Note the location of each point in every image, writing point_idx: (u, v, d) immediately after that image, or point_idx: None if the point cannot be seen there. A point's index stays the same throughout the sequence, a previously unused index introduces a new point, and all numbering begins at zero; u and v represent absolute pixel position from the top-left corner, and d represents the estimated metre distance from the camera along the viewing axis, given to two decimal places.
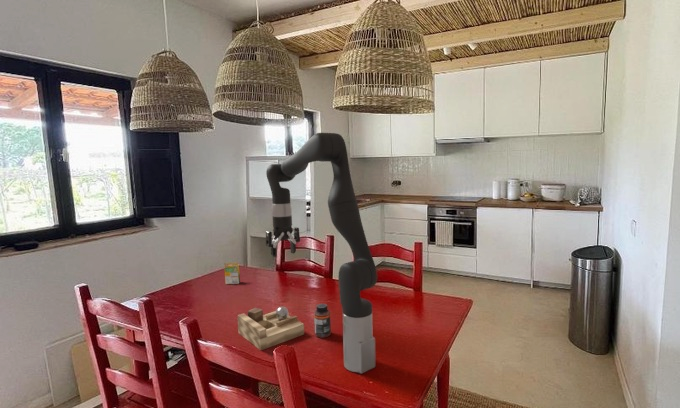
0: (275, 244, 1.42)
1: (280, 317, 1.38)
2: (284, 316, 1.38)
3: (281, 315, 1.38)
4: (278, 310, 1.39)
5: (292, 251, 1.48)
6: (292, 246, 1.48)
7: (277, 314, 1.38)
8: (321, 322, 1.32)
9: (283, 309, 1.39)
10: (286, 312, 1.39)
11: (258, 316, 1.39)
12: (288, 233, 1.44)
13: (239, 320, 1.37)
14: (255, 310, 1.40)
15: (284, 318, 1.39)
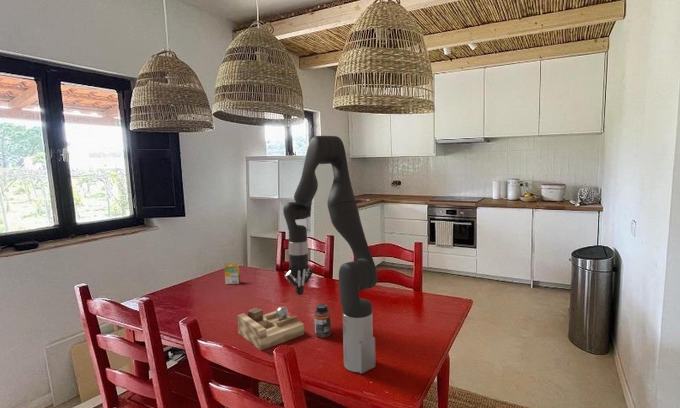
0: (299, 283, 1.43)
1: (280, 317, 1.38)
2: (284, 316, 1.38)
3: (281, 315, 1.38)
4: (278, 310, 1.39)
5: None
6: None
7: (277, 314, 1.38)
8: (321, 322, 1.32)
9: (283, 309, 1.39)
10: (286, 312, 1.39)
11: (258, 316, 1.39)
12: (304, 271, 1.43)
13: (239, 320, 1.37)
14: (255, 310, 1.40)
15: (284, 318, 1.39)
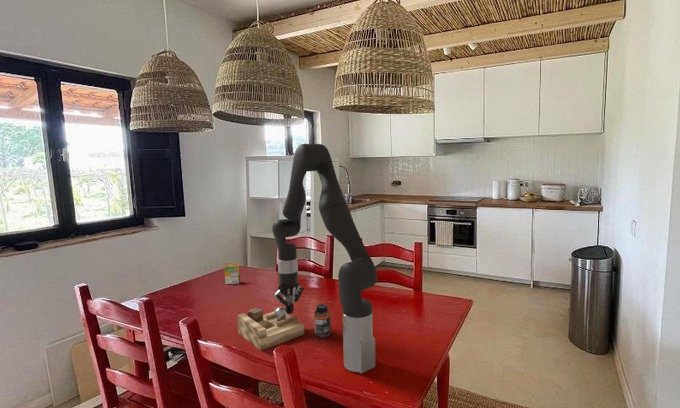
0: (288, 301, 1.41)
1: (279, 318, 1.38)
2: (283, 316, 1.38)
3: (279, 315, 1.37)
4: (276, 311, 1.38)
5: None
6: None
7: (275, 315, 1.38)
8: (321, 322, 1.32)
9: (281, 309, 1.39)
10: (284, 312, 1.39)
11: (258, 316, 1.39)
12: (294, 289, 1.41)
13: (239, 320, 1.37)
14: (255, 310, 1.40)
15: (283, 318, 1.38)
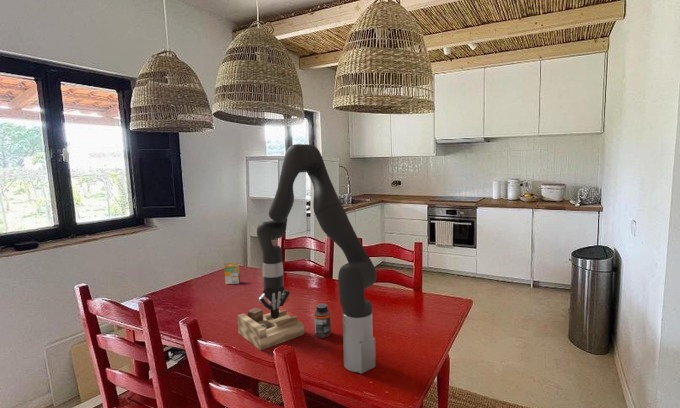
0: (273, 306, 1.37)
1: None
2: None
3: None
4: None
5: None
6: None
7: None
8: (321, 322, 1.32)
9: None
10: None
11: (258, 316, 1.39)
12: (279, 293, 1.37)
13: (239, 320, 1.37)
14: (255, 310, 1.40)
15: None
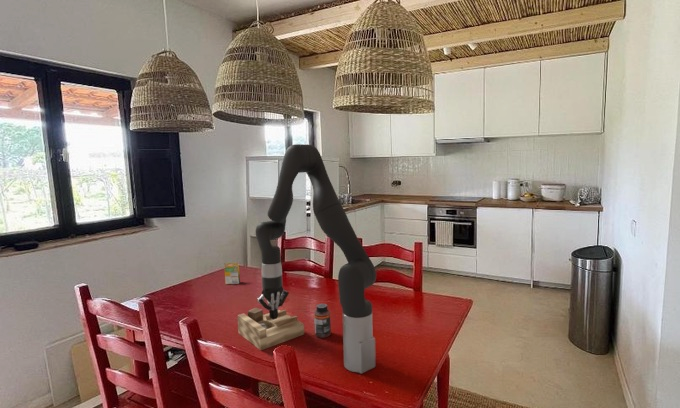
0: (272, 306, 1.36)
1: None
2: None
3: None
4: None
5: None
6: None
7: None
8: (321, 322, 1.32)
9: None
10: None
11: (258, 316, 1.39)
12: (278, 293, 1.36)
13: (239, 320, 1.37)
14: (255, 310, 1.40)
15: None
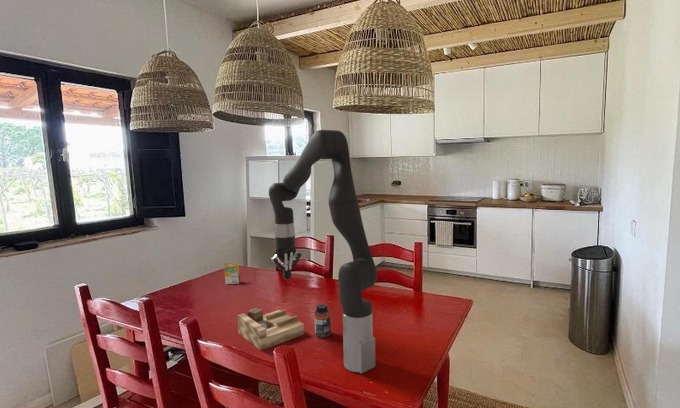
0: (286, 267, 1.39)
1: None
2: None
3: None
4: None
5: None
6: None
7: None
8: (321, 322, 1.32)
9: None
10: None
11: (258, 316, 1.39)
12: (291, 254, 1.39)
13: (239, 320, 1.37)
14: (255, 310, 1.40)
15: None
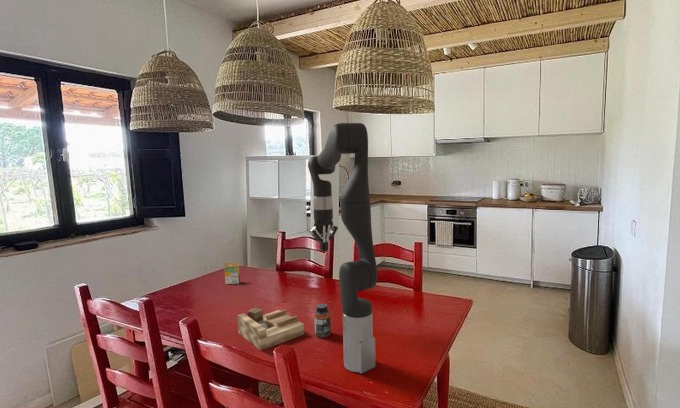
0: (324, 239, 1.42)
1: None
2: None
3: None
4: None
5: None
6: None
7: None
8: (321, 322, 1.32)
9: None
10: None
11: (258, 316, 1.39)
12: (329, 226, 1.42)
13: (239, 320, 1.37)
14: (255, 310, 1.40)
15: None
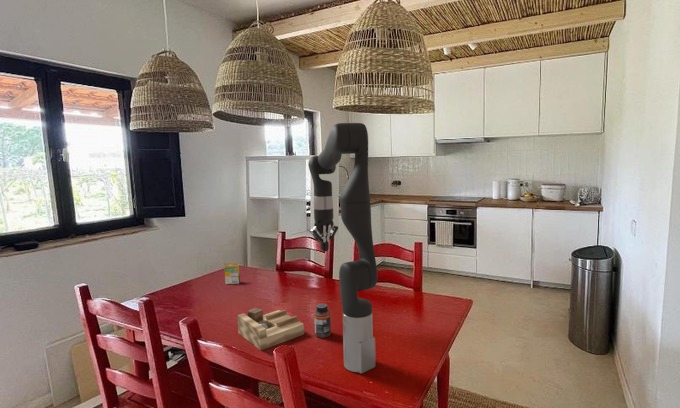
0: (324, 238, 1.42)
1: None
2: None
3: None
4: None
5: None
6: None
7: None
8: (321, 322, 1.32)
9: None
10: None
11: (258, 316, 1.39)
12: (329, 226, 1.42)
13: (239, 320, 1.37)
14: (255, 310, 1.40)
15: None
